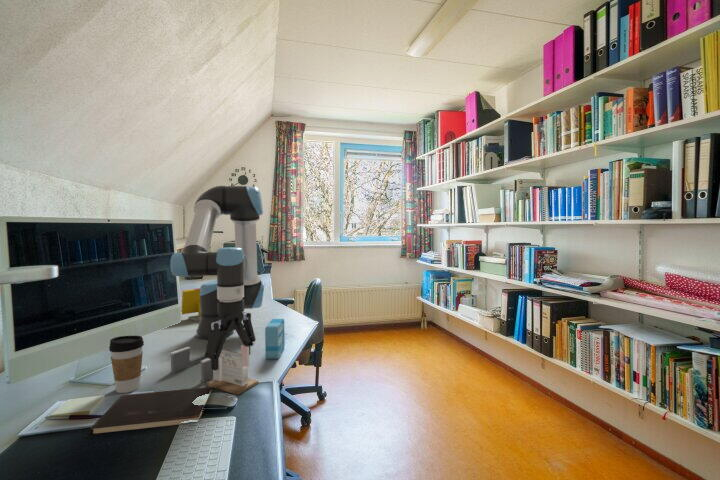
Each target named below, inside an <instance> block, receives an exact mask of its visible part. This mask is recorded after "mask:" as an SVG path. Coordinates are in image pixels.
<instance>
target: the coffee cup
mask: <svg viewBox="0 0 720 480" xmlns="http://www.w3.org/2000/svg"><path fill="white" fill-rule="evenodd" d="M144 345H145V342H144V339H143V336H140V335H122V336H121V335H120V336H117V337H113V338H111V339H110V341H109V346H108V347H109V348H108V350H109V352H111V353H110V354H111V357H110V360H111V367H112V372H113V379H114V387H115V392H116V393H117V394H126V393H127V394H128V393H131V392H134V391H136V390H138V389H139V388H140V386H141V378H142V377H141V376H142V367H143V366H142V365H143V364H142V363H143V346H144Z"/></svg>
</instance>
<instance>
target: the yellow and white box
mask: <svg viewBox="0 0 720 480" xmlns="http://www.w3.org/2000/svg"><path fill="white" fill-rule="evenodd" d="M181 297H182V299H181V312H182V314H181V315H188V314H194V313H195V314H196V313H197V315H191V316H188V317H187V318H188V320H191V321H194V322H198V321H199V322H200V318H201V313H200V287H198V288H197V287H196V288H193V289H184V290H182V296H181ZM181 312H180V313H181Z"/></svg>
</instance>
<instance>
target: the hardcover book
mask: <svg viewBox="0 0 720 480" xmlns="http://www.w3.org/2000/svg"><path fill="white" fill-rule="evenodd" d="M209 393H211V394H212V393H213V387H211V386H208V387H207V386H206V387H197V388H196V387H195V388H194V387H193V388H186V389H176V390H175V389H174V390H173V389H172V390H167V391H166V390H162V391H153V392H152V391H151V392H141V393H131V394H128V393H127V394H122V395H120V397H118V399H117V400H116V401H115V402H113V404H112V405H110V407H109V408H108V409H107V410H106V411H105V412H104V413H103V415H101V416H100V418H98V419H97V421H96V422H95V423H94V424H93V425H92V426H91V427H90V430H92V431H93V432H92V433H93V435H94V434H95V435H96V434H102V433H103V434H104V433H112V432H121V431H130V430H131V431H132V430H139V429H141V430H142V429H147V428H149V429H150V428H157V427H166V426H176V425H181V424H180V423H181V422H184V421H189V420H199V421H200V419H201V417H202V414H203V412H204V410H202V409H203V405H201V406H198V405H194V404H193V403H192V402H193V401H194V400H195V399H196V398H197V397H199V396H202V395H205V394H209ZM202 411H203V412H202ZM199 418H200V419H199Z"/></svg>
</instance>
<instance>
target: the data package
mask: <svg viewBox="0 0 720 480" xmlns="http://www.w3.org/2000/svg"><path fill="white" fill-rule="evenodd" d="M264 330H265V331H264V335H265V341H264V343H265V344H264V346H265V349H264V351H265V359H266V360H279V359H280V357H281V355H282V354H283V352H284V350H285V346H286V345H285V344H286V343H285V341H286V340H285V319H284V318H271V320H270V321H269V322H268V323H267V324H266V326H265V328H264Z"/></svg>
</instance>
